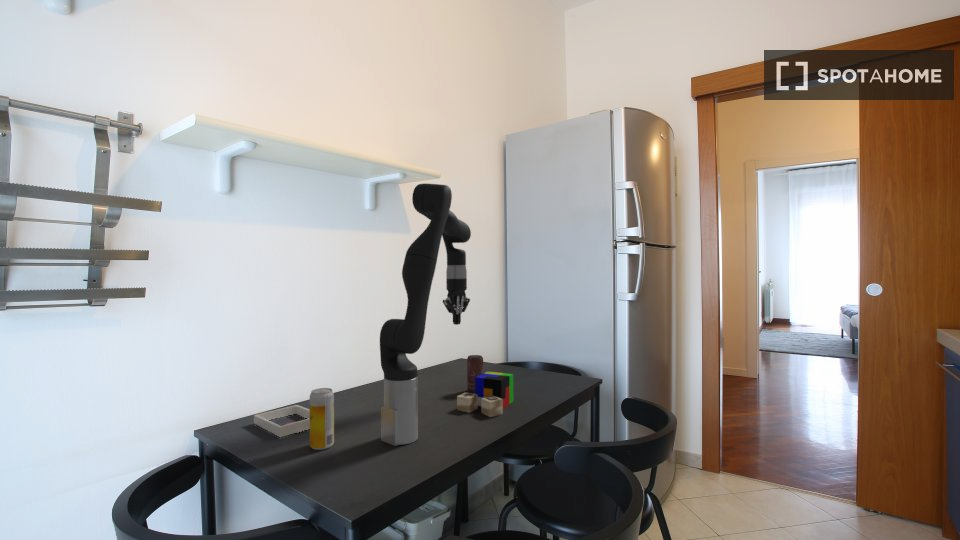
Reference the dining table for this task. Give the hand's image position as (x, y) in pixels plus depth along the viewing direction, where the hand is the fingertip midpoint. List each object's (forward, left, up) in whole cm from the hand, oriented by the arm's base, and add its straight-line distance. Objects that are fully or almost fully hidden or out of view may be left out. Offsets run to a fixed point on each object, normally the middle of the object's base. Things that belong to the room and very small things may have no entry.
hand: (456, 324), depth 164 cm
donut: (-56, +12, -28) cm, 63 cm away
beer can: (-57, -4, -27) cm, 63 cm away
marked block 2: (-7, -22, -27) cm, 36 cm away
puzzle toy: (+2, -16, -27) cm, 32 cm away
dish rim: (-55, +18, -27) cm, 64 cm away
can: (+9, -1, -27) cm, 29 cm away
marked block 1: (-9, -13, -27) cm, 31 cm away
